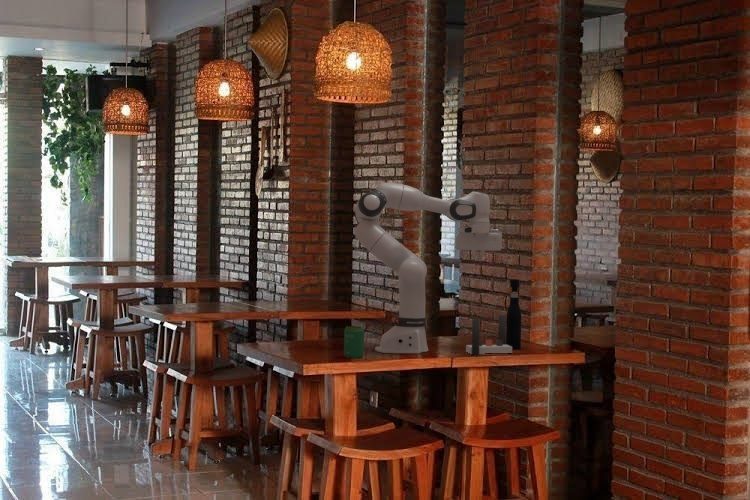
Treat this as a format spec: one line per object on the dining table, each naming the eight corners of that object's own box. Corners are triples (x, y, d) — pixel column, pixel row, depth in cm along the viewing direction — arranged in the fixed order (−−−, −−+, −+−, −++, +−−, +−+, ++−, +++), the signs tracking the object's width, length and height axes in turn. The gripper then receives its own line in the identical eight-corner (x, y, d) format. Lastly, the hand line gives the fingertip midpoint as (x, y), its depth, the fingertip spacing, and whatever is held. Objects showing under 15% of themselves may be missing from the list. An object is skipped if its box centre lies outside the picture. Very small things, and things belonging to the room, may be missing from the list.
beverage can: (367, 357, 425) (368, 327, 424) (351, 359, 420) (351, 328, 420) (356, 355, 431) (356, 325, 431) (340, 356, 427) (340, 326, 426)
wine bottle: (520, 350, 455) (521, 280, 454) (505, 349, 456) (506, 279, 455) (521, 348, 461) (522, 279, 460) (506, 347, 463) (507, 279, 461)
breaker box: (470, 354, 439) (471, 347, 439) (465, 352, 446) (466, 345, 445) (512, 353, 443) (512, 346, 442) (506, 351, 449) (506, 344, 449)
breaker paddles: (476, 346, 442) (476, 340, 442) (475, 345, 443) (475, 339, 443) (502, 345, 445) (502, 340, 444) (501, 345, 446) (501, 339, 446)
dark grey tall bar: (473, 356, 434) (473, 319, 434) (470, 355, 437) (471, 318, 437) (480, 356, 435) (480, 319, 434) (477, 354, 438) (478, 318, 437)
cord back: (499, 351, 451) (500, 315, 450) (497, 350, 454) (497, 315, 453) (506, 350, 451) (506, 315, 451) (503, 350, 454) (504, 315, 454)
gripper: (500, 229, 461) (499, 260, 462) (454, 228, 457) (453, 260, 458) (504, 229, 455) (503, 261, 456) (458, 228, 451) (457, 261, 452)
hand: (478, 261), depth 457 cm, fingers closed
